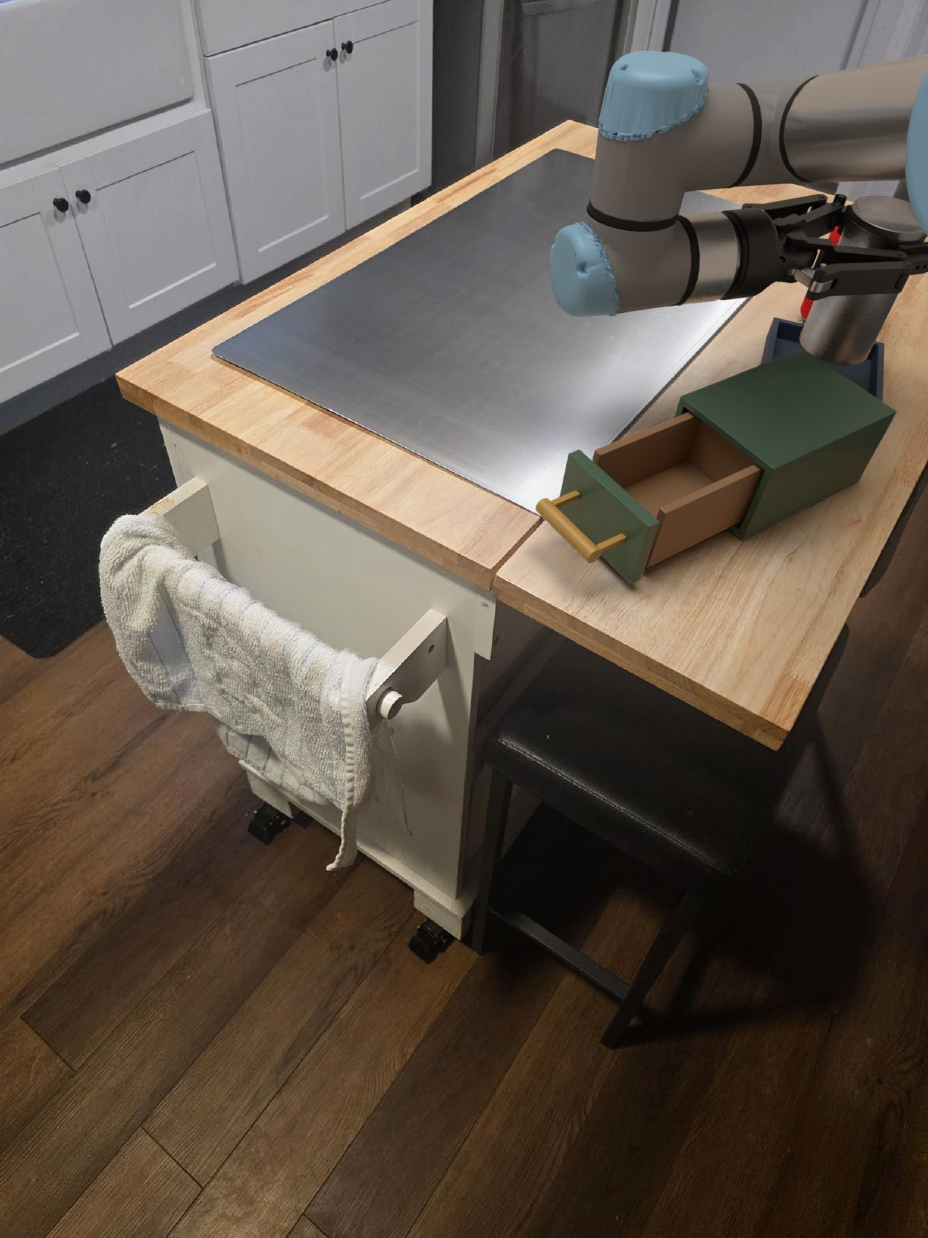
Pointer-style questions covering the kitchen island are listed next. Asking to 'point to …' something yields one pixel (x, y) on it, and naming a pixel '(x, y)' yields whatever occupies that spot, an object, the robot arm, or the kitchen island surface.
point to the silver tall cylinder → (856, 320)
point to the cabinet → (793, 431)
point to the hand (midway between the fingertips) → (923, 233)
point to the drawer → (652, 494)
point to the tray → (863, 374)
